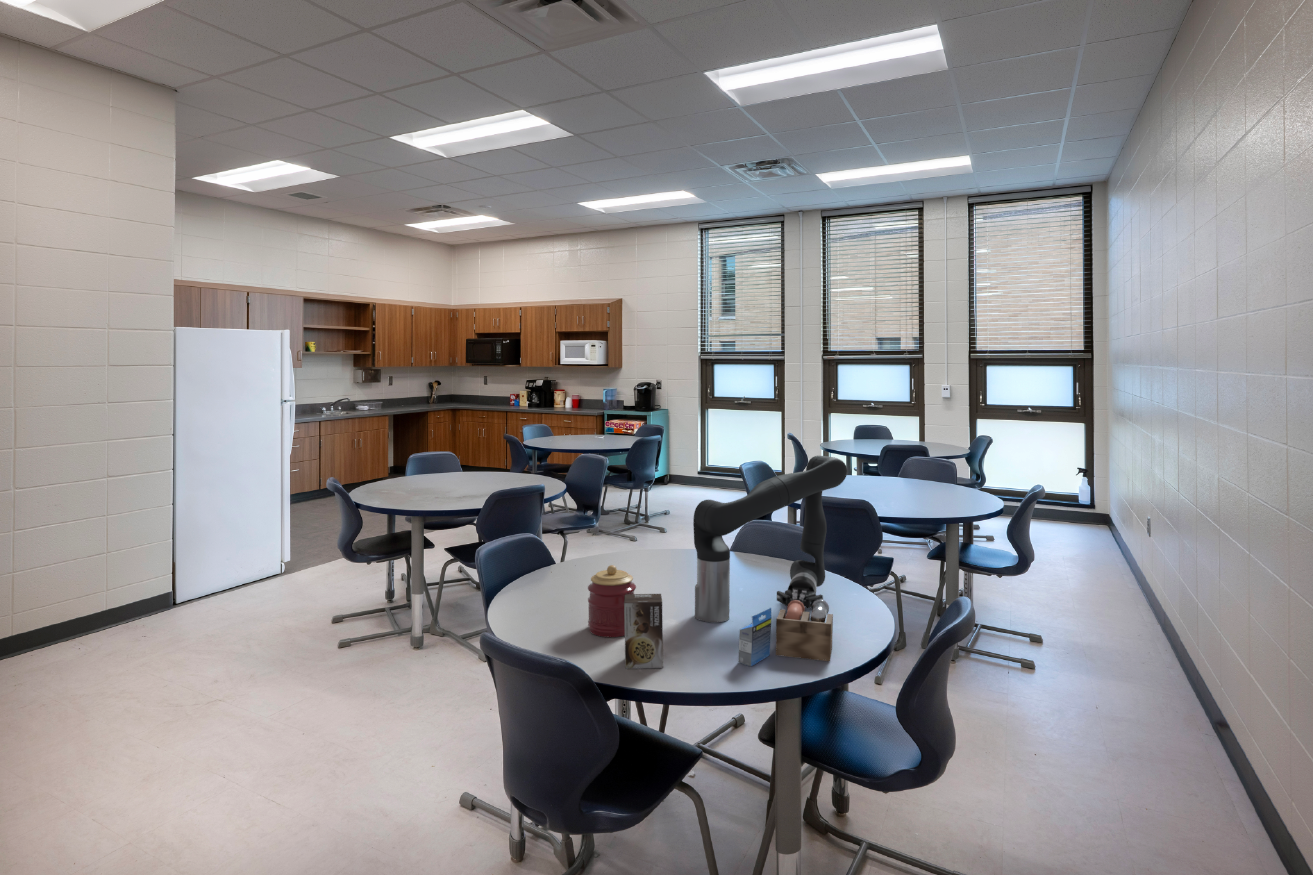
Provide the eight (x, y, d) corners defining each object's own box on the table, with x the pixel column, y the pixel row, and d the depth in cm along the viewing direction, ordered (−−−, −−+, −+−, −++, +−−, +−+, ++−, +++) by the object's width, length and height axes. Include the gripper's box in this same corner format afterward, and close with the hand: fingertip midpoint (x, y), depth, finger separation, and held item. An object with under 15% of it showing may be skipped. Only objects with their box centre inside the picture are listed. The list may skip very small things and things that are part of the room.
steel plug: (808, 627, 179) (808, 610, 179) (811, 615, 188) (811, 598, 188) (826, 629, 178) (826, 611, 177) (828, 616, 187) (829, 600, 186)
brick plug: (782, 628, 178) (783, 610, 178) (787, 615, 187) (787, 599, 187) (800, 630, 177) (801, 612, 177) (804, 617, 186) (804, 600, 186)
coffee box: (662, 657, 175) (662, 593, 173) (663, 668, 168) (663, 601, 167) (624, 658, 175) (624, 593, 173) (624, 669, 168) (624, 601, 167)
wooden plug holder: (775, 655, 176) (776, 618, 176) (780, 642, 184) (780, 607, 184) (830, 661, 173) (831, 624, 172) (832, 648, 181) (832, 612, 180)
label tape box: (757, 651, 179) (757, 603, 177) (771, 656, 176) (772, 607, 175) (737, 663, 172) (738, 612, 171) (752, 667, 169) (753, 616, 168)
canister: (629, 640, 186) (629, 573, 185) (581, 636, 189) (581, 570, 187) (641, 622, 199) (640, 560, 197) (595, 619, 202) (595, 557, 200)
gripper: (779, 573, 205) (770, 591, 188) (826, 577, 201) (822, 596, 184) (778, 599, 205) (770, 619, 189) (826, 603, 202) (821, 624, 185)
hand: (796, 608), depth 187 cm, fingers closed
